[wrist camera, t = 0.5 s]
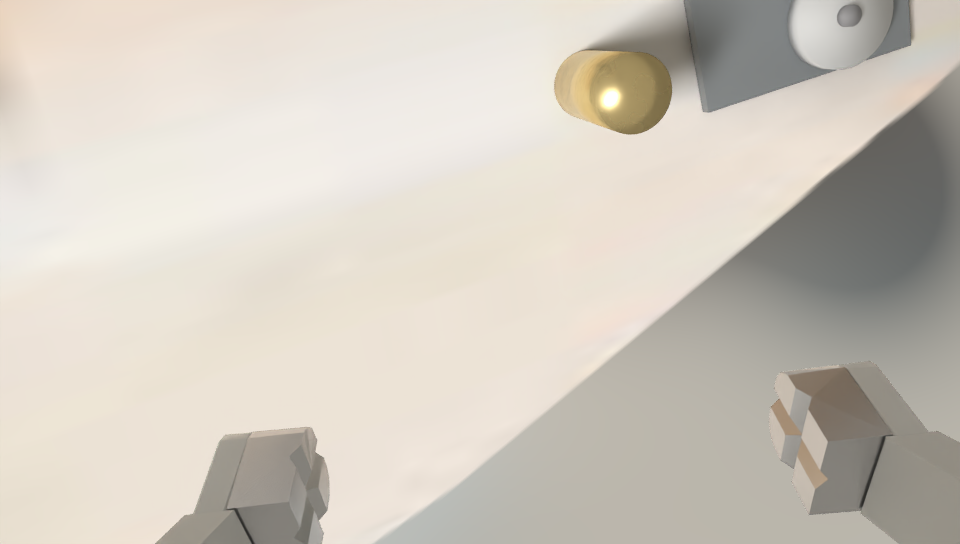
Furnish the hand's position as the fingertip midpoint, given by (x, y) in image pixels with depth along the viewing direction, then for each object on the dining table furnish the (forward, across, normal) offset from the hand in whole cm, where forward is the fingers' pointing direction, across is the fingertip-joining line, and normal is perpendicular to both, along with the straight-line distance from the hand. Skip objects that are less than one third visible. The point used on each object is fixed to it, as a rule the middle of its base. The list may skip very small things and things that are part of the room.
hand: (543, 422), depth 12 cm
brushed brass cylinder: (+44, -8, +10) cm, 46 cm away
